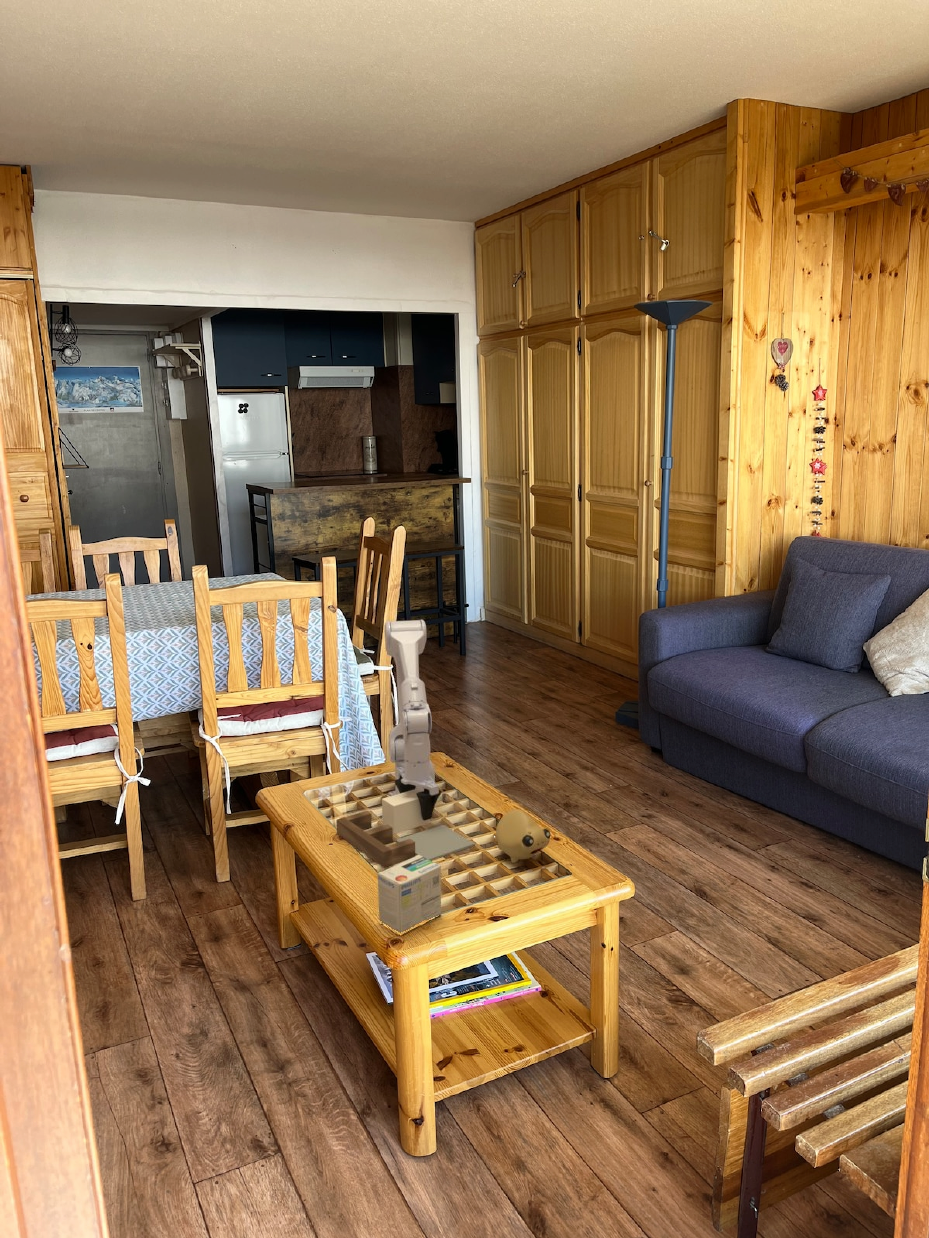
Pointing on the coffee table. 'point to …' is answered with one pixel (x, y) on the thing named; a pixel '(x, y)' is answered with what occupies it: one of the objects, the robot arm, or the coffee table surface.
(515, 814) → the tan toy animal
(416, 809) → the off-white block
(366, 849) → the walnut rack
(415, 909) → the light bulb box
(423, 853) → the grey mat
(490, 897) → the coffee table surface
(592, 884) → the coffee table surface
